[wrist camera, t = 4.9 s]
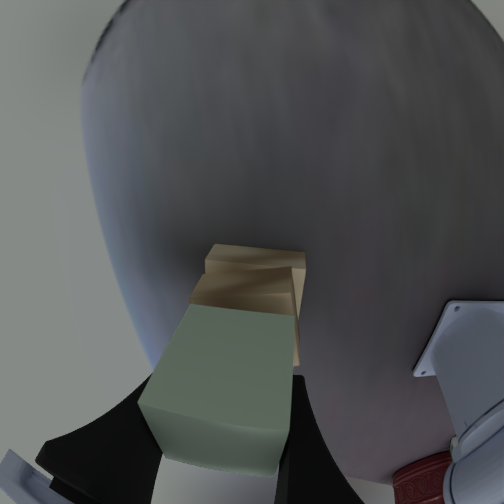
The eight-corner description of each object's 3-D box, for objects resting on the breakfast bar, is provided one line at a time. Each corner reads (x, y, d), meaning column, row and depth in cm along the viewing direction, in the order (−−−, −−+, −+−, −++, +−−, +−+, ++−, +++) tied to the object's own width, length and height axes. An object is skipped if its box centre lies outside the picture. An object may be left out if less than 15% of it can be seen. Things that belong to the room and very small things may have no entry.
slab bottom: (304, 249, 17) (306, 269, 15) (294, 320, 19) (293, 344, 17) (216, 241, 18) (204, 259, 15) (218, 311, 20) (209, 333, 18)
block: (294, 315, 12) (289, 430, 7) (283, 382, 13) (273, 477, 8) (190, 303, 12) (137, 402, 7) (198, 371, 14) (165, 458, 9)
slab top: (291, 266, 15) (290, 292, 13) (299, 336, 17) (299, 365, 15) (202, 274, 16) (188, 299, 14) (222, 339, 18) (213, 367, 16)
